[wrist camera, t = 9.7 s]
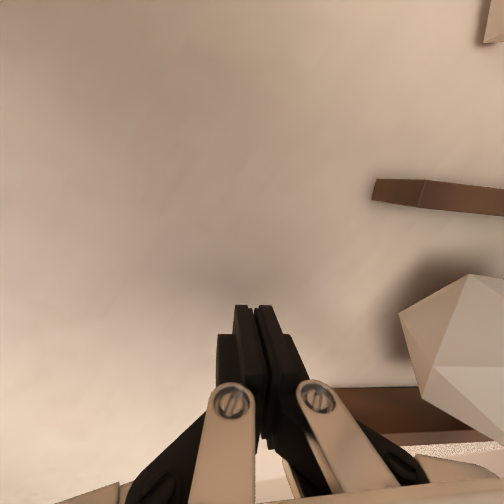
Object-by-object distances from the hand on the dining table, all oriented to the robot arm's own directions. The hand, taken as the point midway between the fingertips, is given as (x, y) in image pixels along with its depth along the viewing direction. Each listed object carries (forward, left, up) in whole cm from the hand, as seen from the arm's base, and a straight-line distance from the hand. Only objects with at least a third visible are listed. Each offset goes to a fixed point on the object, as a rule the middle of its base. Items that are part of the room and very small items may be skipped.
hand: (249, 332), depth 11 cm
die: (+14, -1, -4) cm, 15 cm away
